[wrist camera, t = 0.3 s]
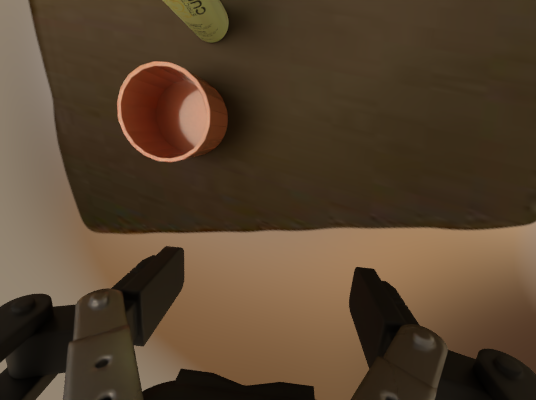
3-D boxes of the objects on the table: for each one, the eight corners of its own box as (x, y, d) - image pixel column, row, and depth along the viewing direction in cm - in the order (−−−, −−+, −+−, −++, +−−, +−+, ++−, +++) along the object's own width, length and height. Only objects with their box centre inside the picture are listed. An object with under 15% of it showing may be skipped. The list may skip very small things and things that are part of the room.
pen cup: (154, 74, 38) (113, 58, 29) (229, 80, 37) (211, 64, 29) (156, 152, 41) (120, 157, 32) (226, 158, 40) (209, 165, 31)
